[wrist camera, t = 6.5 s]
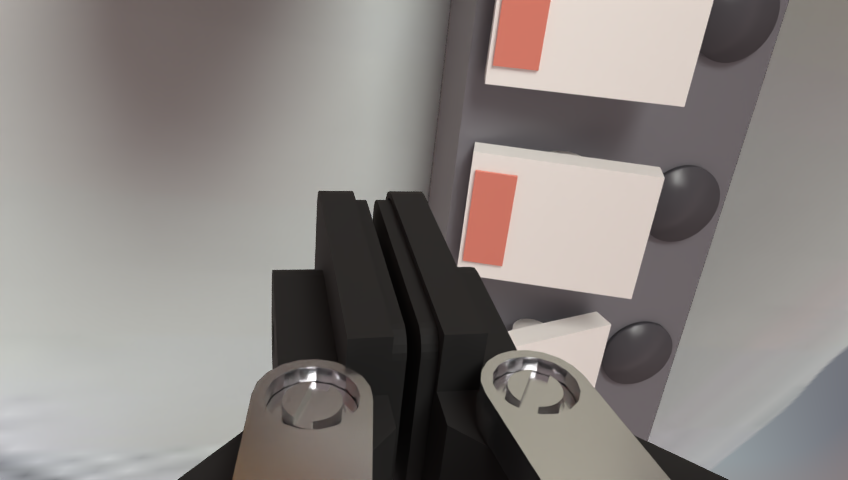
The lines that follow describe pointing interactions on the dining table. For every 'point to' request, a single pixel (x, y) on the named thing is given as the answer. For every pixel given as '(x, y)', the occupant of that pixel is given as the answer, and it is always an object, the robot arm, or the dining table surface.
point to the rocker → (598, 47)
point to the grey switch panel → (625, 142)
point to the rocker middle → (558, 219)
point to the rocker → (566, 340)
